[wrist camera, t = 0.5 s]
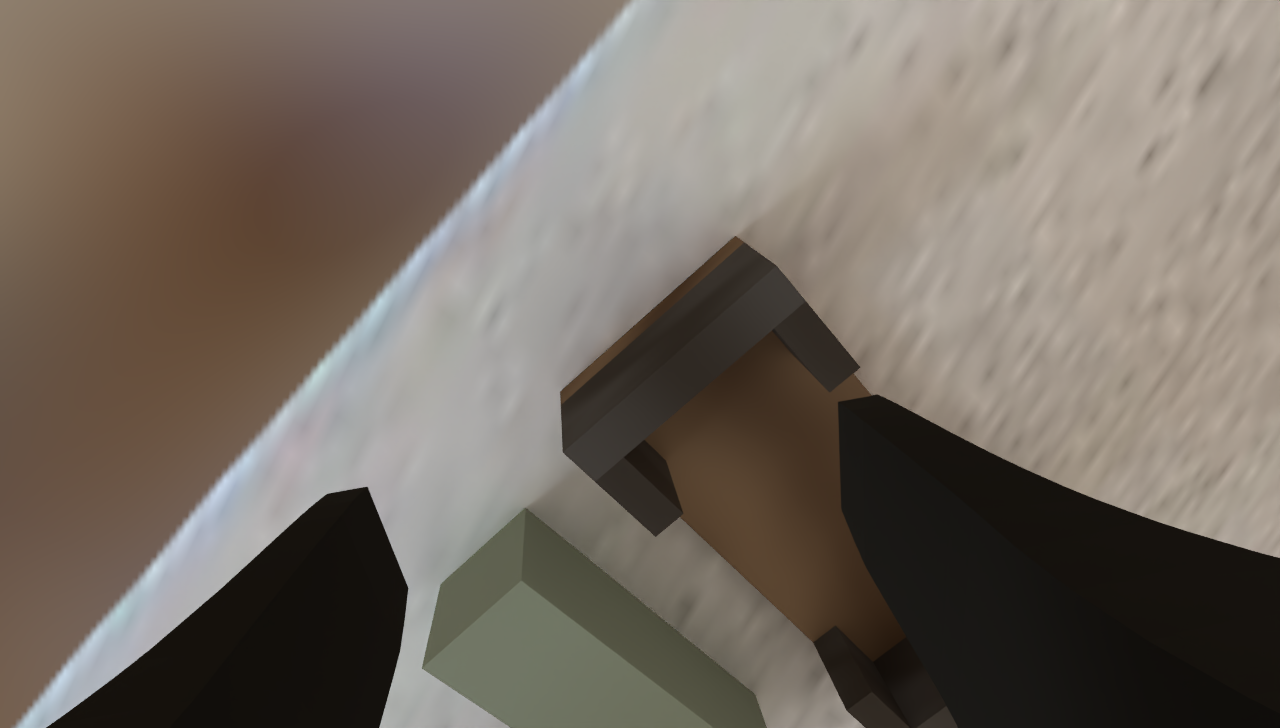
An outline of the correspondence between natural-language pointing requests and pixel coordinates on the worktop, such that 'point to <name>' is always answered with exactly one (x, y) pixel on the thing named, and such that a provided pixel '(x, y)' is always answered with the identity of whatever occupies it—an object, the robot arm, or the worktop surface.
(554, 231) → the worktop surface
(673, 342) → the end cap cradle
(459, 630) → the stone
